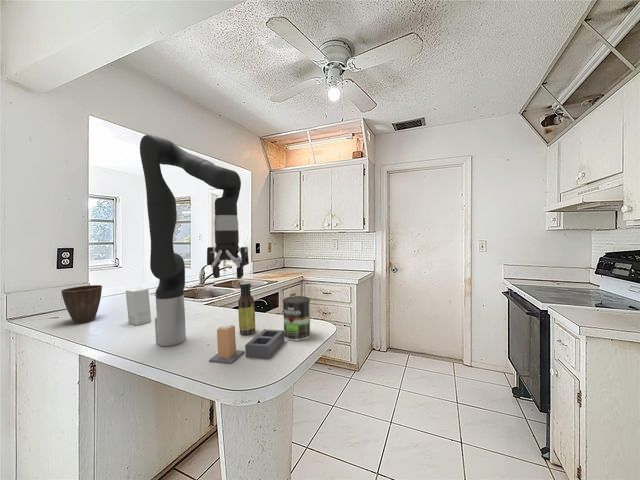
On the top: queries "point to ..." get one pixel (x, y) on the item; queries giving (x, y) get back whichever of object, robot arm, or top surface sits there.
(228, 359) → the mat
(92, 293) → the plant pot
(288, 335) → the coffee can
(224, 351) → the plug
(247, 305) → the sauce bottle
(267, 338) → the grey block holder
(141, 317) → the skincare box
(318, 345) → the top surface
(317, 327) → the top surface
